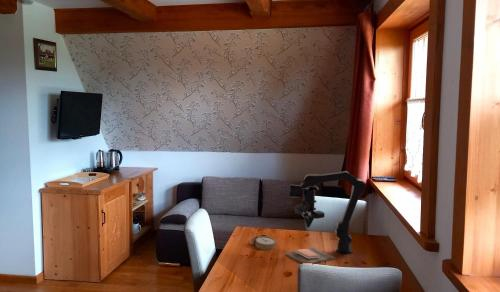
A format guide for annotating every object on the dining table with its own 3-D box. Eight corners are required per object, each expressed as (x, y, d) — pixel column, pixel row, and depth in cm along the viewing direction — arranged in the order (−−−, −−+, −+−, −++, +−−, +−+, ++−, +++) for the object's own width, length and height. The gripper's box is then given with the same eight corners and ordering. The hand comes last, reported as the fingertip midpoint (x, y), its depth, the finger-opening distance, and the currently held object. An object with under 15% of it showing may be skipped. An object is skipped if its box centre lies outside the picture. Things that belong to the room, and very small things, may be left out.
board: (313, 249, 206) (313, 247, 206) (334, 259, 193) (334, 257, 193) (285, 254, 197) (285, 253, 197) (305, 266, 183) (306, 263, 183)
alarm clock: (265, 246, 201) (247, 234, 212) (264, 255, 202) (246, 242, 213) (280, 242, 208) (262, 230, 219) (279, 250, 209) (261, 238, 220)
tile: (295, 249, 196) (295, 252, 196) (308, 256, 188) (308, 258, 188) (306, 248, 200) (306, 251, 200) (319, 255, 191) (319, 257, 191)
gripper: (286, 196, 207) (285, 224, 208) (308, 203, 191) (307, 234, 192) (302, 194, 213) (301, 222, 214) (325, 201, 197) (324, 231, 198)
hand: (308, 227), depth 205 cm, fingers closed
